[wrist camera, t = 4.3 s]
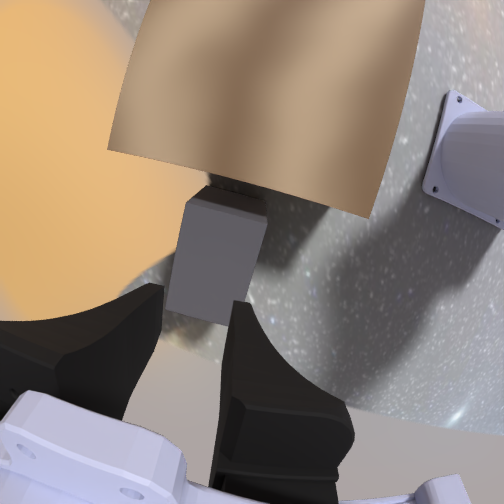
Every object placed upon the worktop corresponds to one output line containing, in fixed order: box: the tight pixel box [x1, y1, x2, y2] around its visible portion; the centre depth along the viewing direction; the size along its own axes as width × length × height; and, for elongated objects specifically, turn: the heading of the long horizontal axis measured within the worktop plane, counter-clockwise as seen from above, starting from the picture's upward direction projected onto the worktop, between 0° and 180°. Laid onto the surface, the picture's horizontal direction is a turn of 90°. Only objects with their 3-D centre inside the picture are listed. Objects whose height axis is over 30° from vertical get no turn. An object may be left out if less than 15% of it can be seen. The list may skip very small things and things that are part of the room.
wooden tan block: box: [107, 0, 425, 219], centre depth 13 cm, size 13×14×1 cm
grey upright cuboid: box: [165, 185, 268, 327], centre depth 19 cm, size 4×6×6 cm, turn 165°
